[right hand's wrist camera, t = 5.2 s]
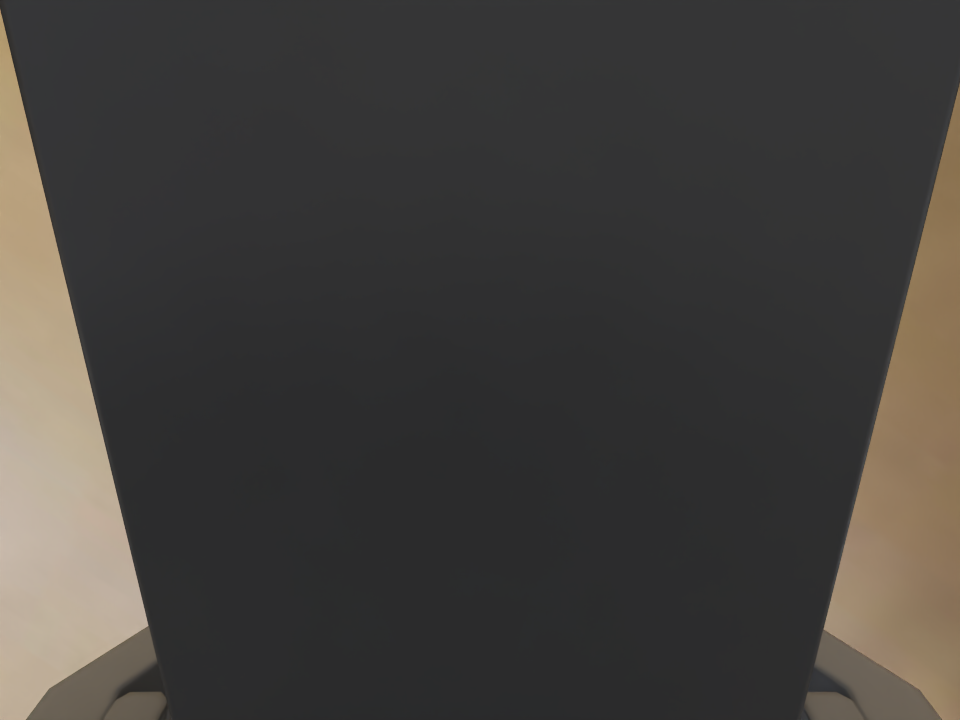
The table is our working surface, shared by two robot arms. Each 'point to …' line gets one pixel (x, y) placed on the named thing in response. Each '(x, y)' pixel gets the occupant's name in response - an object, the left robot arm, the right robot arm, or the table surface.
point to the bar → (487, 334)
